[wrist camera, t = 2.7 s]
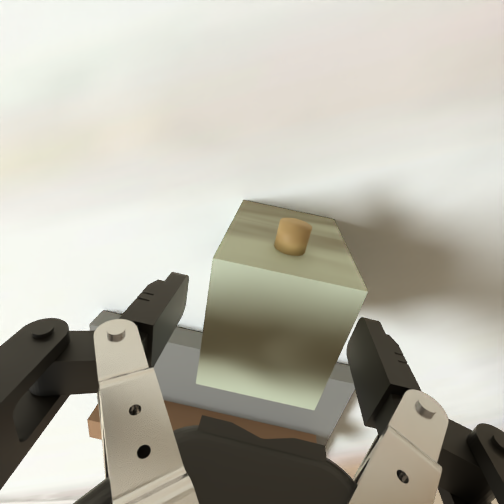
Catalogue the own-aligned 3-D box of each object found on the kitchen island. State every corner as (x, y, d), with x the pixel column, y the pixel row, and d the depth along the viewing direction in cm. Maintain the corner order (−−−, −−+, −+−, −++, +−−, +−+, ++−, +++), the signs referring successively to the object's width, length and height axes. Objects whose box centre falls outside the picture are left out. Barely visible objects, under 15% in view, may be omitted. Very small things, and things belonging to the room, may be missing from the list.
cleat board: (102, 310, 20) (62, 353, 16) (352, 366, 19) (367, 422, 16) (111, 427, 26) (83, 477, 22) (300, 471, 26) (302, 528, 22)
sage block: (246, 181, 15) (216, 229, 8) (339, 201, 14) (380, 264, 8) (227, 289, 18) (195, 383, 11) (304, 306, 18) (314, 410, 11)
